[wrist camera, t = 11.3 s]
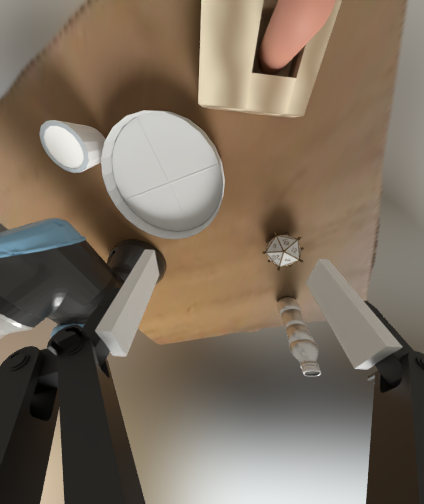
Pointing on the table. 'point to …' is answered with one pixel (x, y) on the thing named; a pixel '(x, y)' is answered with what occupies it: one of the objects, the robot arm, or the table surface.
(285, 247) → the game die
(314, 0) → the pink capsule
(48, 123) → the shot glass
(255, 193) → the table surface
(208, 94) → the birch block
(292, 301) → the plastic bottle
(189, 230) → the dish
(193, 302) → the table surface
